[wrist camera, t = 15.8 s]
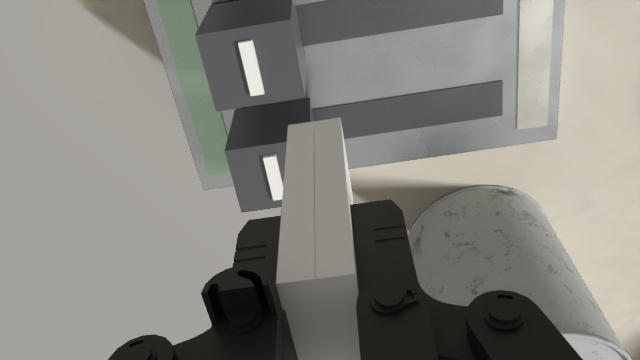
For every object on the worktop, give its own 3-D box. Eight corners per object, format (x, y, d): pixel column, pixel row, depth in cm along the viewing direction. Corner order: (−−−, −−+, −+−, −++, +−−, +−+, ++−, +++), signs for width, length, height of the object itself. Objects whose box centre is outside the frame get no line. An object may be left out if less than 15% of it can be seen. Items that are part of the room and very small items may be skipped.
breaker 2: (234, 109, 31) (223, 153, 27) (309, 97, 31) (310, 140, 27) (249, 165, 33) (241, 214, 29) (320, 155, 32) (322, 203, 28)
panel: (111, -146, 26) (97, -143, 25) (561, -230, 25) (580, -233, 23) (208, 172, 35) (203, 191, 34) (544, 122, 34) (557, 139, 32)
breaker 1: (210, 5, 28) (194, 37, 24) (293, -9, 28) (290, 21, 24) (227, 73, 30) (215, 113, 26) (305, 61, 30) (305, 99, 26)
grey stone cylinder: (494, 156, 35) (572, 300, 25) (578, 245, 39) (677, 403, 29) (375, 245, 39) (400, 405, 28) (462, 319, 42) (513, 484, 32)
